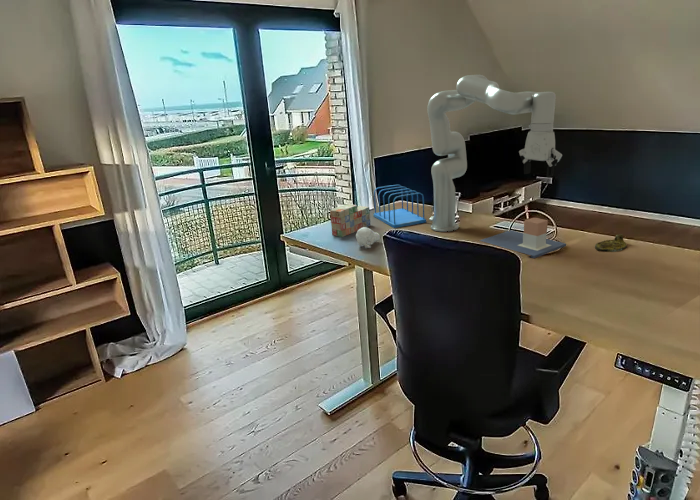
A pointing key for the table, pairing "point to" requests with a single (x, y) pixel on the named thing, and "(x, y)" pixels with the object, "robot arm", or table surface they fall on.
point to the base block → (534, 240)
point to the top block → (535, 226)
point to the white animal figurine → (366, 237)
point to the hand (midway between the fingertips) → (538, 175)
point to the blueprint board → (515, 243)
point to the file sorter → (399, 210)
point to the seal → (612, 244)
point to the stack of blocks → (349, 219)
